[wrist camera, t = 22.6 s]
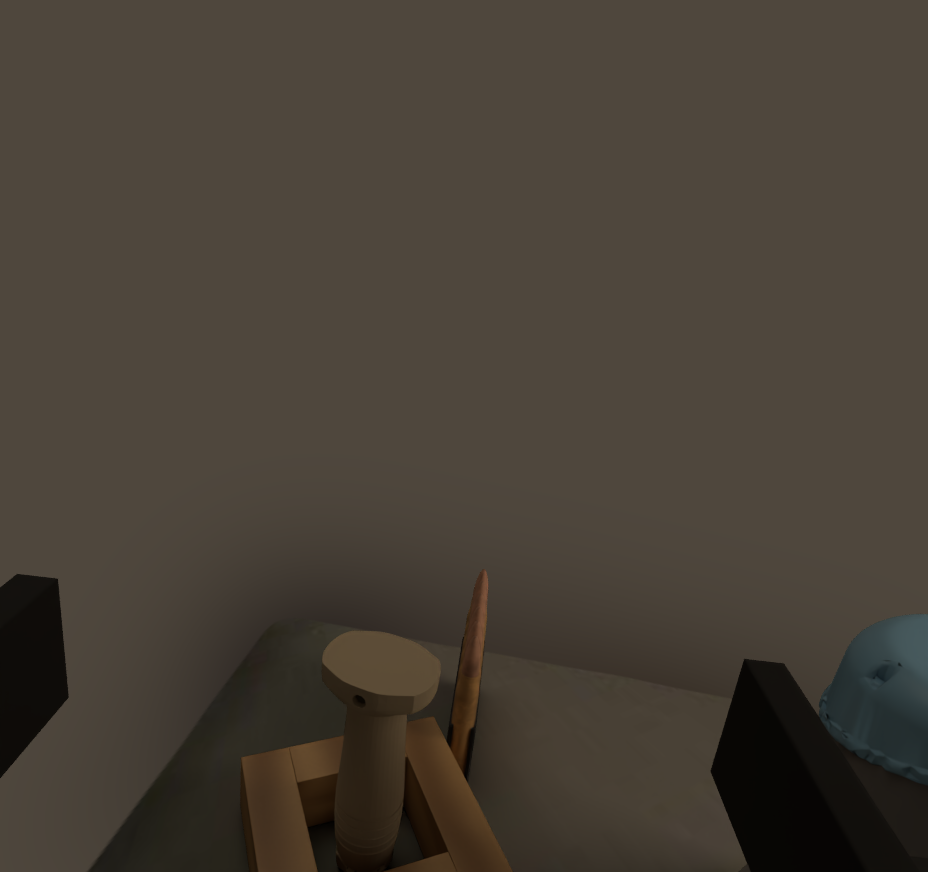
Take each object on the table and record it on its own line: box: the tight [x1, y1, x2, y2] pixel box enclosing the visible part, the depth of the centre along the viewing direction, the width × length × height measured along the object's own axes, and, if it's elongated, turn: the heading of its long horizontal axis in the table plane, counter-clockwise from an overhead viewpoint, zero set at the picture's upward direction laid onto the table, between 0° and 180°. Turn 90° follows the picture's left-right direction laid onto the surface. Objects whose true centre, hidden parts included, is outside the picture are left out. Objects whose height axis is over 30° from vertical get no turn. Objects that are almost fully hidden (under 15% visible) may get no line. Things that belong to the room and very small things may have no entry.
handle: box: [322, 631, 441, 872], centre depth 39 cm, size 5×6×15 cm
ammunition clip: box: [447, 569, 488, 783], centre depth 51 cm, size 11×2×12 cm, turn 174°
